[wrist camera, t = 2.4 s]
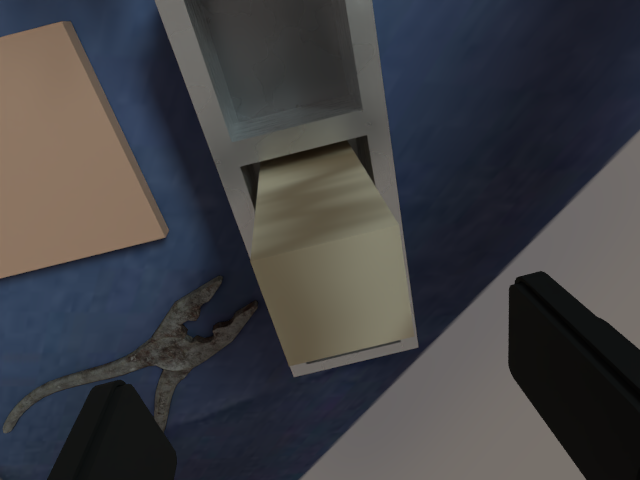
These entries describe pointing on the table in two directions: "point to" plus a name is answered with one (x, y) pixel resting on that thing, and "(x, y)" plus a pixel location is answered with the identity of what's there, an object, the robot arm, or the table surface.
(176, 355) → the pliers
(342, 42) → the shelf
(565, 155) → the table surface
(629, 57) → the table surface
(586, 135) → the table surface
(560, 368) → the robot arm
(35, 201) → the tile
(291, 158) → the peg
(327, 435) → the table surface
